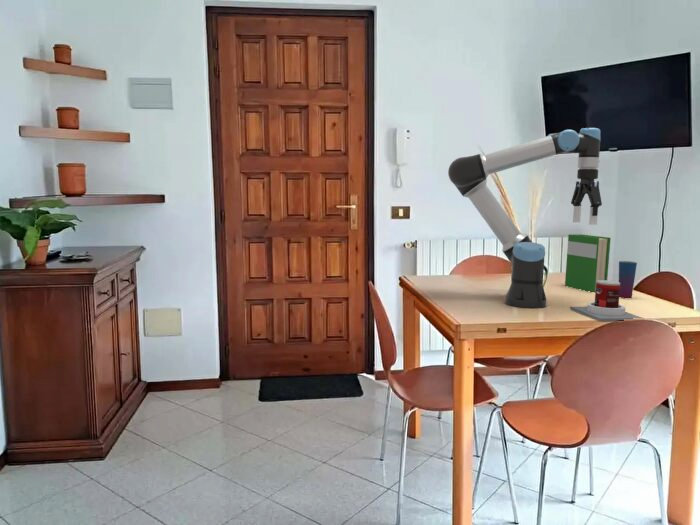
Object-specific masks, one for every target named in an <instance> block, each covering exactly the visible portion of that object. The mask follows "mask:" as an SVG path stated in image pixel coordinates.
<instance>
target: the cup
mask: <svg viewBox="0 0 700 525" xmlns="http://www.w3.org/2000/svg"><path fill="white" fill-rule="evenodd" d="M637 264H638V262H636V261H631V260H630V261H629V260H619V261H618V282H619V283H620V294H619V297H621V298H622V299H625V298H631V299H632V298H633V292H634V286H635V280H636V279H635V278H636V274H637V273H636V272H637Z"/></svg>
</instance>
